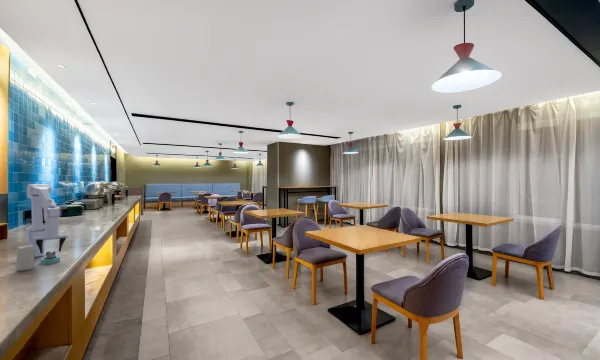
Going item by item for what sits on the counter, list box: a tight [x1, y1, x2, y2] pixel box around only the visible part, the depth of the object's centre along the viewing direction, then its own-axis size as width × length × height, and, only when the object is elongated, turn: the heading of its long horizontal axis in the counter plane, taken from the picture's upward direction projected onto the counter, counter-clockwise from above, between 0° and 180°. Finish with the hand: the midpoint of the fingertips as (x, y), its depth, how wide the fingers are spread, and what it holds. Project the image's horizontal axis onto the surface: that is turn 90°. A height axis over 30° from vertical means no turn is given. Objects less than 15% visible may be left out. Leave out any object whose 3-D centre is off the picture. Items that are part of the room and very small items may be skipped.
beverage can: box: [15, 245, 35, 272], centre depth 138 cm, size 6×6×12 cm
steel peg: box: [45, 250, 56, 259], centre depth 151 cm, size 4×4×6 cm
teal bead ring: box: [40, 255, 61, 265], centre depth 151 cm, size 8×8×2 cm
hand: (50, 252), depth 151 cm, fingers open, 7 cm apart
